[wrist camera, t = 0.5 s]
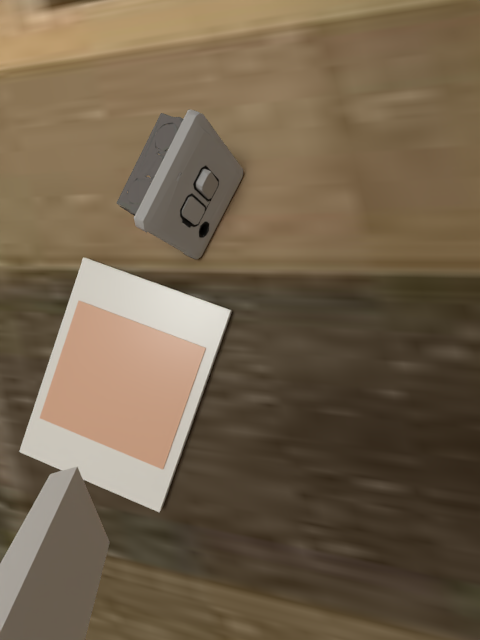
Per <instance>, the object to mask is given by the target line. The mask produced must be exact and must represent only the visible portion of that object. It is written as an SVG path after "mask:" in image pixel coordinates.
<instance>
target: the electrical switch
mask: <svg viewBox="0 0 480 640" xmlns="http://www.w3.org/2000/svg"><path fill="white" fill-rule="evenodd" d="M166 124H167V125H166ZM156 147H157V148H158V149H157V148H156ZM167 149H168V150H167ZM166 150H167V151H166ZM157 153H158V154H160V155H158V154H157ZM146 175H149V176H150V177H151V178H149V177H146ZM242 176H243V168H242V167H241V166H240V164H239V163H238V162H237V160H236V159H235V158H234V156H233V155H232V154H231V152H230V151H229V149H228V148H227V147H226V145H225V144H224V142H223V141H222V140H221V138H220V137H219V136H218V134H217V133H216V131H215V130H214V129H213V127H212V126H211V124H210V123H209V122H208V120H207V119H206V118H205V116H204V115H203V114H201V113H199V112H197V111H195V110H188V112H187V113H186V115H185V117H184V119H182V118H180V117H171V116H168V115H166V114H163V113H161V114H160V116H159V118H158V120H157V122H156V124H155V126H154V128H153V130H152V132H151V134H150V136H149V138H148V141H147V143H146V145H145V147H144V149H143V151H142V153H141V155H140V157H139V159H138V161H137V163H136V165H135V167H134V169H133V171H132V173H131V175H130V177H129V179H128V181H127V183H126V185H125V187H124V189H123V191H122V193H121V195H120V197H119V199H118V201H117V204H119V205H121V206H123V207H122V208H123V209H125V210H126V211H128V212H129V213H131V214H133V215H134V216H135V217H134V220H135V225H136V227H138V228H140V229H141V230H143V231H145V232H149V233H151V234H153V235H154V236H156V237H158V238H160V239H161V240H163V241H165V242H166V243H168V244H170V245H172V246H173V247H175V248H177V249H179V250H180V251H182V252H184V254H185V255H187V256H189V257H191V258H194V259H198V258H200V257H201V256H202V254H203V252H204V250H205V249H206V247H207V245H208V243H209V241H210V239H211V237H212V235H213V233H214V231H215V229H216V227H217V225H218V223H219V221H220V219H221V218H222V216H223V214H224V212H225V210H226V208H227V206H228V204H229V202H230V200H231V198H232V196H233V194H234V192H235V190H236V188H237V187H238V185H239V183H240V181H241V179H242ZM150 182H151V183H150ZM127 191H128V193H127ZM121 206H120V207H121ZM124 207H125V208H124Z"/></svg>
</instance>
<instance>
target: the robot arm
mask: <svg viewBox="0 0 480 640" xmlns="http://www.w3.org/2000/svg"><path fill="white" fill-rule="evenodd" d="M109 543H110V542H109V540H108V538H107V535H106V533H105V531H104V528H103V526H102V523H101V521H100V519H99V516H98V514H97V512H96V509H95V507H94V505H93V502H92V500H91V497H90V495H89V493H88V490H87V488H86V486H85V483H84V481H83V479H82V476H81V474H80V471H79V469H78V467H74V468H70V469H67V470H63V471H60V472H56V473H53V474H50V476H49V477H48V479H47V481H46V483H45V485H44V486H43V488H42V490H41V492H40V494H39V495H38V497H37V499H36V501H35V503H34V504H33V506H32V508H31V510H30V511H29V513H28V515H27V517H26V519H25V520H24V522H23V524H22V526H21V528H20V529H19V531H18V533H17V535H16V537H15V538H14V540H13V542H12V544H11V546H10V547H9V549H8V551H7V553H6V554H5V556H4V558H3V560H2V562H1V563H0V640H85V637H86V633H87V629H88V625H89V621H90V617H91V613H92V609H93V605H94V602H95V598H96V594H97V590H98V586H99V582H100V578H101V574H102V570H103V566H104V562H105V558H106V554H107V550H108V547H109Z"/></svg>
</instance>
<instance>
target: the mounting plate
mask: <svg viewBox="0 0 480 640" xmlns="http://www.w3.org/2000/svg"><path fill="white" fill-rule="evenodd" d="M231 313H232V310H230V309H227V308H224V307H221V306H218V305H216V304H213V303H210V302H207V301H205V300H202V299H199V298H196V297H193V296H191V295H188V294H185V293H182V292H180V291H177V290H174V289H171V288H168V287H166V286H163V285H160V284H157V283H155V282H152V281H149V280H146V279H143V278H141V277H138V276H135V275H132V274H130V273H127V272H124V271H121V270H118V269H116V268H113V267H110V266H107V265H105V264H102V263H99V262H96V261H93V260H91V259H88V258H84V257H83V260H82V263H81V266H80V269H79V272H78V275H77V278H76V281H75V285H74V288H73V291H72V294H71V297H70V300H69V303H68V306H67V309H66V312H65V315H64V318H63V321H62V324H61V327H60V330H59V333H58V336H57V339H56V342H55V345H54V348H53V351H52V354H51V357H50V360H49V363H48V366H47V369H46V372H45V375H44V378H43V381H42V385H41V388H40V391H39V394H38V397H37V400H36V403H35V406H34V409H33V412H32V415H31V418H30V421H29V424H28V427H27V430H26V433H25V436H24V439H23V442H22V445H21V448H20V451H19V452H21V453H23V454H25V455H28V456H30V457H32V458H35V459H37V460H39V461H42V462H44V463H46V464H49V465H51V466H53V467H55V468H58V469H60V470H62V471H63V470H67V469H70V468H74V467H78V469H79V471H80V474H81V476H82V479H83V480H86V481H88V482H90V483H93V484H95V485H97V486H100V487H102V488H104V489H107V490H109V491H111V492H113V493H116V494H118V495H120V496H123V497H125V498H127V499H130V500H132V501H134V502H137V503H139V504H141V505H144V506H146V507H148V508H151V509H153V510H155V511H158V512H160V511H161V509H162V507H163V505H164V502H165V499H166V497H167V494H168V491H169V488H170V485H171V483H172V480H173V477H174V474H175V471H176V468H177V466H178V463H179V460H180V457H181V454H182V451H183V449H184V446H185V443H186V440H187V437H188V434H189V432H190V429H191V426H192V423H193V420H194V418H195V415H196V412H197V409H198V406H199V403H200V401H201V398H202V395H203V392H204V389H205V386H206V384H207V381H208V378H209V375H210V372H211V370H212V367H213V364H214V361H215V358H216V355H217V353H218V350H219V347H220V344H221V341H222V338H223V336H224V333H225V330H226V327H227V324H228V322H229V319H230V316H231Z"/></svg>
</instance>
